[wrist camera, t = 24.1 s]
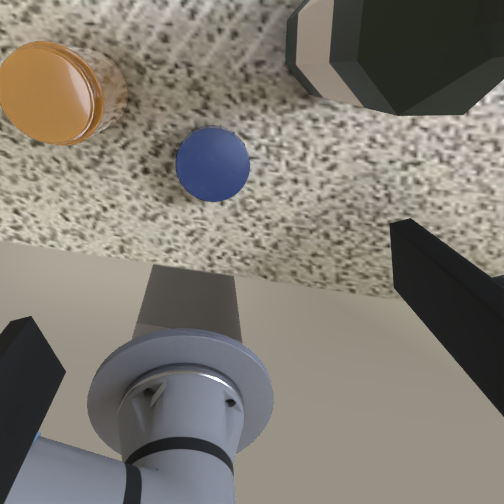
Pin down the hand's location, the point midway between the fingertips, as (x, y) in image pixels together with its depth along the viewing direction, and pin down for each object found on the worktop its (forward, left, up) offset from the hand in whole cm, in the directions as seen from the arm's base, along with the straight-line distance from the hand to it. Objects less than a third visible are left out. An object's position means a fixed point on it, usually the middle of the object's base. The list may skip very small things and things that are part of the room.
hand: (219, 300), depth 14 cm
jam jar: (+3, +11, -23) cm, 25 cm away
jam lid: (0, 0, -21) cm, 21 cm away
